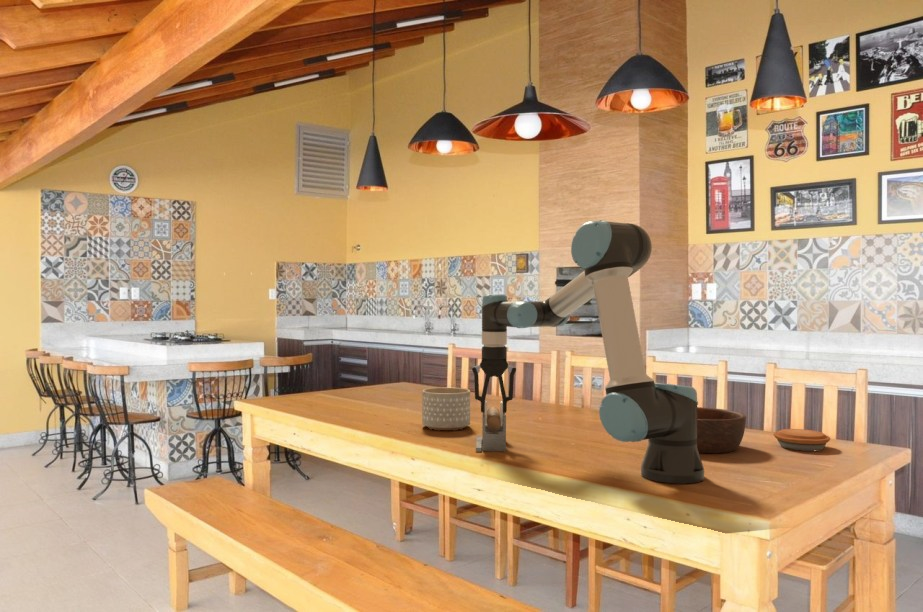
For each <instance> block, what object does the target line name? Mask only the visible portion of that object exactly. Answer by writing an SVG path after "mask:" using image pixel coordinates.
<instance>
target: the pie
mask: <svg viewBox="0 0 923 612" xmlns="http://www.w3.org/2000/svg"><path fill="white" fill-rule="evenodd" d="M772 435H773V436H774V438H775V439H777V442H778V443H779V445H780V447H781V448H783V447H785V448H784V449H787V448H788V449H787V450H791V449H794V450H793V451H798V450H801V452H815V451H814V450H820V451H822V450H824V448H825V447H826V445H827V443H828V442H829V441H831V437H830V436H828V435H826V434H825V433H824V432H821V431H817V430H811V429H802V428H784V429H780V430H777V431H775V432H773V433H772ZM821 449H822V450H821Z"/></svg>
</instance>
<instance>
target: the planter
mask: <svg viewBox="0 0 923 612" xmlns="http://www.w3.org/2000/svg"><path fill="white" fill-rule="evenodd" d="M421 393H422V395H421V397H422V398H421V399H422V407H421V408H422V409H421V410H422V411H421V414H422V415H421V416H422V426H425V427H426V428H427V427H428V428H429V430H432V429H434V430H433V431H440V430H453V431H459V430H458V429H461V430H464V429H465V428H466V427H467V426H469V425H471V390H470V389H468V388H462V387H431V388H425V389H424V388H423V389H422V392H421ZM428 428H427V429H428ZM463 428H464V429H463Z"/></svg>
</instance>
